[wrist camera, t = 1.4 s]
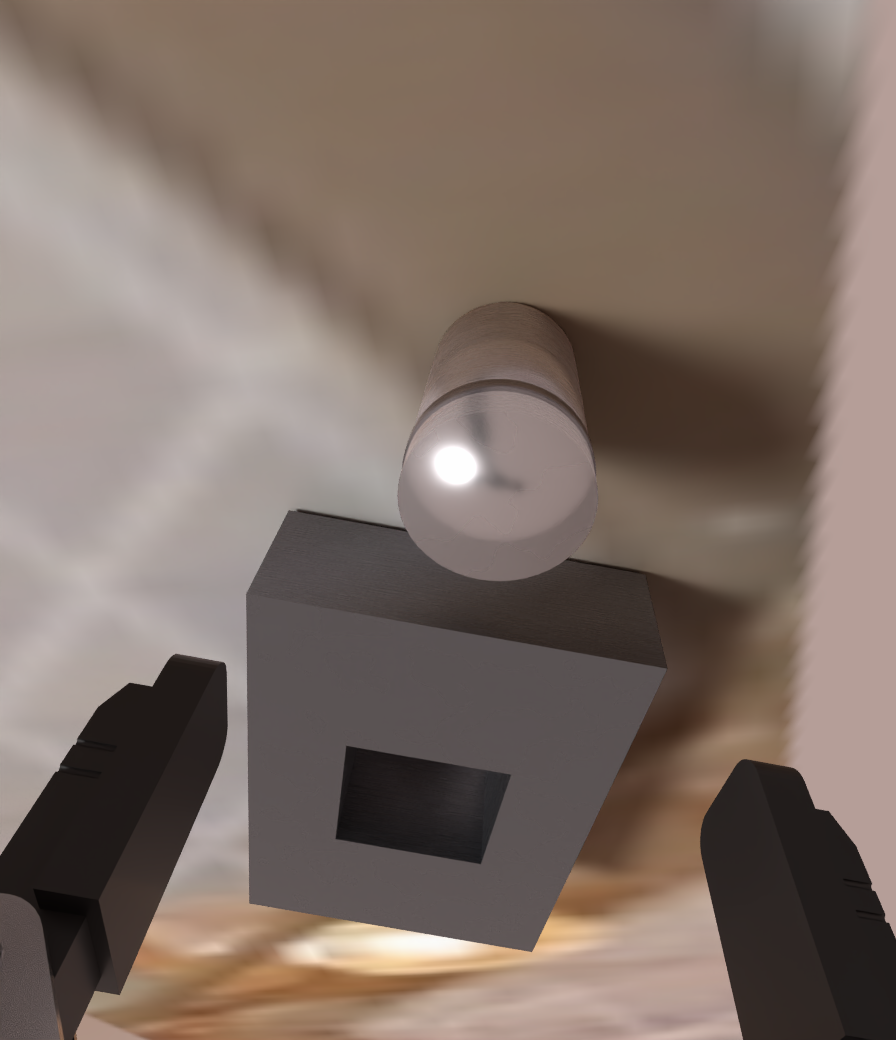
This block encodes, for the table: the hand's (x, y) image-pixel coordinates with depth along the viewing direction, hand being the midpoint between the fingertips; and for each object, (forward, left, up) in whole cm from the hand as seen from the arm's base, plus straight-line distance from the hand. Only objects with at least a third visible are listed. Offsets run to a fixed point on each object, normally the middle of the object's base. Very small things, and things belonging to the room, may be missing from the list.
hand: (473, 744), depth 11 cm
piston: (0, 0, -15) cm, 15 cm away
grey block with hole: (+17, 0, -15) cm, 22 cm away
